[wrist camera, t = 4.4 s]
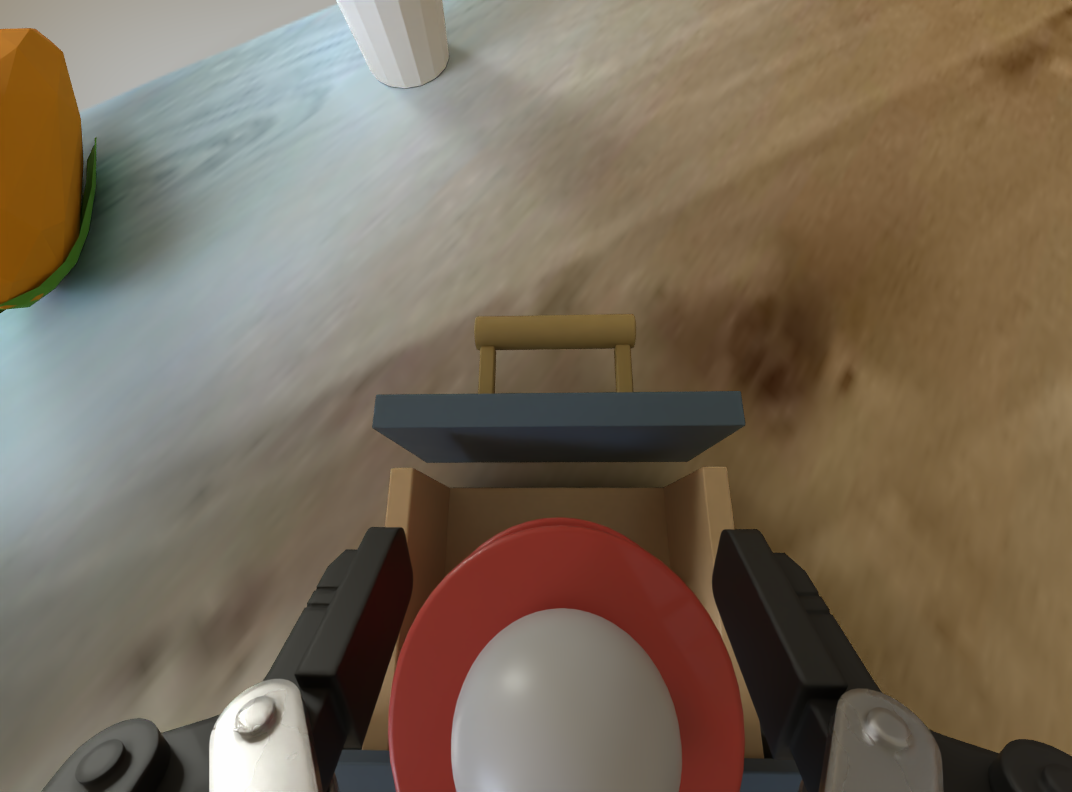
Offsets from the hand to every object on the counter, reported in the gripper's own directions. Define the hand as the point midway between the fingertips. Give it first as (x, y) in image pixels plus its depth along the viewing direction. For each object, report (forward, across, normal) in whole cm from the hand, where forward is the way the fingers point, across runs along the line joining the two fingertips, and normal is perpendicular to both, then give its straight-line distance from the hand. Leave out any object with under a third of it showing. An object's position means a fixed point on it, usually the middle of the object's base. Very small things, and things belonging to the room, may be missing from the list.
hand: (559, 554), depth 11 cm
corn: (+22, +31, -7) cm, 39 cm away
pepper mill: (+5, 0, +7) cm, 9 cm away
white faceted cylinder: (+30, +10, -15) cm, 36 cm away
